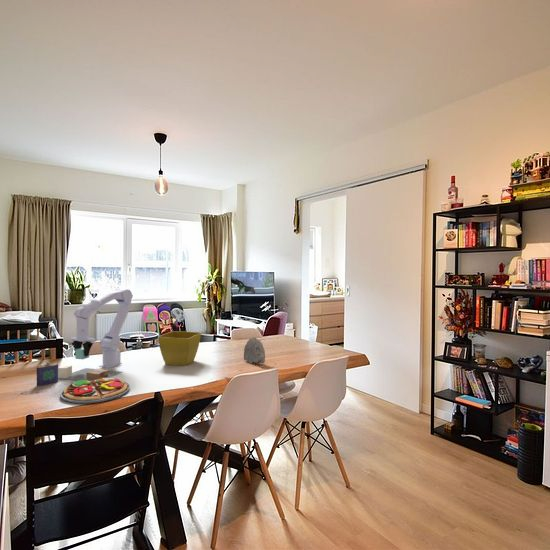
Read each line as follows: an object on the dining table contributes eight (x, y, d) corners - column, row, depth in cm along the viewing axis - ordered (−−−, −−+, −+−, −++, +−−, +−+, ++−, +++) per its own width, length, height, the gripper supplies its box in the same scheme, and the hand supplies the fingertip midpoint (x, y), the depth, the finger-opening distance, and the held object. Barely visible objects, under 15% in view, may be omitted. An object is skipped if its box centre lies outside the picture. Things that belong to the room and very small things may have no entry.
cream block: (63, 375, 185) (63, 365, 185) (71, 375, 185) (71, 365, 185) (57, 377, 180) (57, 367, 180) (66, 378, 180) (66, 368, 180)
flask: (56, 381, 176) (57, 359, 176) (59, 382, 175) (59, 360, 174) (35, 386, 169) (35, 363, 169) (38, 387, 167) (38, 364, 167)
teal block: (82, 356, 194) (82, 347, 194) (89, 357, 193) (89, 348, 193) (75, 358, 190) (75, 349, 190) (82, 359, 189) (82, 349, 188)
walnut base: (96, 374, 187) (96, 368, 187) (108, 375, 185) (108, 370, 185) (86, 378, 180) (86, 372, 180) (98, 379, 178) (98, 373, 178)
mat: (85, 368, 199) (85, 368, 199) (123, 372, 192) (123, 371, 192) (55, 379, 179) (55, 378, 179) (95, 383, 173) (95, 383, 173)
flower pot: (187, 368, 203) (188, 338, 202) (156, 365, 207) (157, 336, 206) (201, 359, 221) (201, 332, 221) (172, 357, 225) (172, 330, 225)
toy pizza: (64, 409, 142) (64, 398, 142) (57, 389, 164) (57, 379, 164) (137, 395, 158) (137, 385, 158) (121, 378, 180) (121, 370, 180)
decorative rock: (242, 360, 221) (242, 336, 220) (251, 359, 224) (252, 335, 224) (257, 366, 207) (257, 340, 207) (266, 365, 211) (267, 339, 211)
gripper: (65, 330, 189) (65, 356, 190) (88, 331, 185) (88, 358, 186) (75, 328, 196) (75, 353, 196) (98, 329, 192) (98, 355, 193)
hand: (82, 355), depth 191 cm, fingers closed on teal block, 4 cm apart
